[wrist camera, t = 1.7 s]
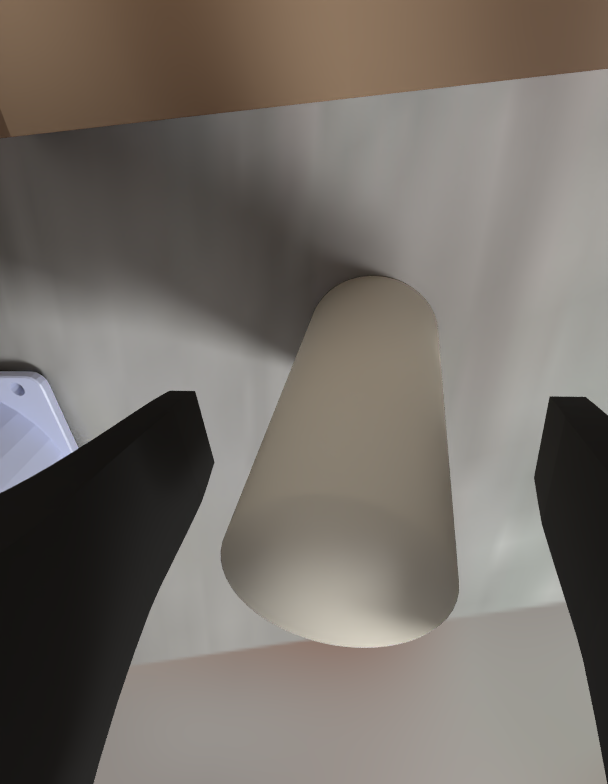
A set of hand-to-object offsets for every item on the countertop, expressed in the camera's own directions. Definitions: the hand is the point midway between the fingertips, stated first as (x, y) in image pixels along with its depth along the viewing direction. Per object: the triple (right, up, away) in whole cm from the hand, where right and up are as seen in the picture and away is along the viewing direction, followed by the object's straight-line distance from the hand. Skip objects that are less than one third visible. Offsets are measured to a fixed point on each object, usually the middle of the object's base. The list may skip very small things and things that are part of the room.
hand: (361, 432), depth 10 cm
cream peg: (+1, +2, +4) cm, 4 cm away
